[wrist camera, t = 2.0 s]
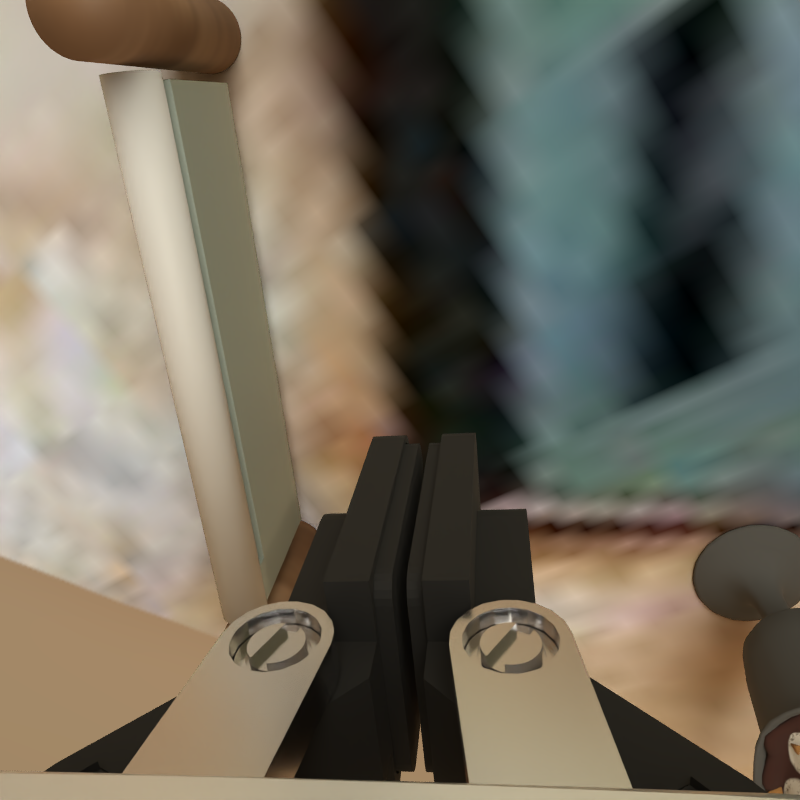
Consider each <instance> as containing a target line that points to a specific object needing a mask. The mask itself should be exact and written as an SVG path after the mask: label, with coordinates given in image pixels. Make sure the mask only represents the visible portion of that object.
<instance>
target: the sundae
mask: <svg viewBox="0 0 800 800" xmlns="http://www.w3.org/2000/svg"><path fill="white" fill-rule="evenodd" d="M693 582H694V586H695V590H696V592H697V595H698V597H699V599H700V600H701V601H702V602H703V603H704V604H705V605H706V606H707V607H708V608H709V609H711V610H712V611H713V612H715V613H717V614H719V615H721V616H723V617H726V618H729V619H733V620H742V621H753V620H760V619H762V620H761V621H760V622H759V623H758V624H757V625H756V626H755V627H754V628H753V629H752V631H751V632H750V633H749V635H748V636H747V637H746V640H745V642H744V647H743V661H744V668H745V675H746V681H747V686H748V690H749V693H750V697H751V701H752V704H753V708H754V711H755V715H756V718H757V722H758V725H759V729H760V732H761V733H760V735H759V738H758V740H757V743H756V746H755V755H754V765H753V782H754V783H756V784H757V785H758V786H759V787H761V788H762V789H763V790H764V791H766V792H767V793H778V794H796V795H800V608H792V609H790V608H791V607H793V606H794V605H796V604H797V603H798V602H799V601H800V538H799V537H798V536H797V535H796V534H793V533H791V532H789V531H787V530H785V529H782V528H779V527H776V526H767V525H750V526H746V527H741V528H738V529H735V530H732V531H729V532H726V533H725V534H723V535H721V536H720V537H718V538H717V539H715V540H714V541H713V542H711V543H710V544H709V545H708V546H707V547H706V548H705V550H704V551H703V552H702V553H701V555H700V557H699V558H698V560H697V562H696V565H695V569H694V576H693Z"/></svg>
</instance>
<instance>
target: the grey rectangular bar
mask: <svg viewBox="0 0 800 800" xmlns="http://www.w3.org/2000/svg"><path fill="white" fill-rule="evenodd" d="M99 77H100V81H101V86H102V90H103V94H104V99H105V103H106V107H107V112H108V116H109V121H110V125H111V129H112V134H113V138H114V142H115V147H116V151H117V155H118V160H119V164H120V168H121V173H122V177H123V181H124V186H125V190H126V195H127V199H128V203H129V208H130V212H131V216H132V221H133V225H134V229H135V234H136V238H137V242H138V247H139V251H140V255H141V260H142V264H143V269H144V273H145V277H146V282H147V286H148V290H149V295H150V299H151V303H152V308H153V312H154V316H155V321H156V325H157V330H158V334H159V338H160V343H161V347H162V351H163V356H164V360H165V364H166V369H167V373H168V377H169V382H170V386H171V390H172V395H173V399H174V404H175V408H176V412H177V417H178V421H179V425H180V430H181V434H182V438H183V443H184V447H185V451H186V456H187V460H188V464H189V469H190V473H191V478H192V482H193V486H194V491H195V495H196V499H197V504H198V508H199V512H200V517H201V521H202V525H203V530H204V534H205V539H206V543H207V547H208V552H209V556H210V560H211V565H212V569H213V573H214V578H215V582H216V586H217V591H218V595H219V599H220V604H221V608H222V613H223V617H224V620H225V621H226V622H228V623H229V624H231V623H232V622H233V621H235V620H236V619H238V618H239V617H241V616H242V615H244V614H245V613H247V612H249V611H251V610H254V609H256V608H259V607H261V606H264V605H268V604H267V599H268V597H269V595H270V592H271V590H272V588H273V585H274V583H275V580H276V578H277V576H278V573H279V571H280V569H281V566H282V564H283V561H284V559H285V557H286V554H287V552H288V550H289V547H290V545H291V542H292V540H293V538H294V535H295V533H296V531H297V528H298V526H299V523H300V521H301V515H300V510H299V504H298V498H297V492H296V486H295V480H294V474H293V468H292V462H291V456H290V451H289V445H288V439H287V433H286V427H285V421H284V415H283V409H282V403H281V397H280V391H279V386H278V380H277V374H276V368H275V362H274V356H273V350H272V344H271V338H270V332H269V327H268V321H267V315H266V309H265V303H264V297H263V291H262V285H261V279H260V273H259V267H258V262H257V256H256V250H255V244H254V238H253V232H252V226H251V220H250V214H249V208H248V203H247V197H246V191H245V185H244V179H243V173H242V167H241V161H240V155H239V149H238V144H237V138H236V132H235V126H234V120H233V114H232V108H231V102H230V96H229V90H228V84H227V83H219V82H205V81H190V80H176V79H167V80H163V78H162V73H161V70H135V71H123V72H114V73H107V74H102V75H99Z"/></svg>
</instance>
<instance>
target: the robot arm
mask: <svg viewBox="0 0 800 800" xmlns="http://www.w3.org/2000/svg"><path fill="white" fill-rule="evenodd" d="M420 724H421V733H422V742H423V751H424V760H425V768H426V771H427V772H433V774H434V782H407V781H400V776H401V771H408V772H412V771H413V772H414V770H415V766H416V758H417V749H418V739H419V731H420ZM0 800H800V795H796V794H778V793H767V792H766V791H764V790H763V789H762V788H761V787H759V786H758V785H757V784H756V783H754V782H753V781H752V780H750V779H749V778H747V777H745V776H744V775H742V774H741V773H739V772H738V771H736V770H734V769H733V768H731V767H730V766H728V765H727V764H725V763H724V762H722V761H720V760H719V759H717V758H716V757H714V756H713V755H711V754H709V753H708V752H706V751H705V750H703V749H702V748H700V747H698V746H697V745H695V744H694V743H692V742H691V741H689V740H687V739H686V738H684V737H683V736H681V735H680V734H678V733H676V732H675V731H673V730H672V729H670V728H669V727H667V726H665V725H664V724H662V723H661V722H659V721H658V720H656V719H655V718H653V717H651V716H650V715H648V714H647V713H645V712H644V711H642V710H640V709H639V708H637V707H636V706H634V705H633V704H631V703H629V702H628V701H626V700H625V699H623V698H622V697H620V696H618V695H617V694H615V693H614V692H612V691H611V690H609V689H607V688H606V687H604V686H603V685H601V684H600V683H598V682H597V681H595V680H593V679H592V678H590V677H589V675H588V672H587V670H586V667H585V665H584V662H583V659H582V657H581V654H580V652H579V649H578V647H577V644H576V641H575V639H574V636H573V634H572V632H571V630H570V628H569V627H568V625H567V624H566V622H565V621H564V620H563V619H562V618H561V617H559V616H558V615H557V614H556V613H554V612H553V611H552V610H550V609H547V608H545V607H543V606H540V605H538V604H536V603H535V593H534V583H533V572H532V562H531V551H530V541H529V531H528V520H527V511H526V509H509V510H481V509H480V493H479V477H478V460H477V444H476V434H475V433H458V434H442V438H441V443H430V444H429V448H428V454H427V460H426V466H425V471H424V474H423V464H422V453H421V446H420V444H409V442H408V438H407V436H381V437H373V439H372V442H371V445H370V448H369V450H368V453H367V456H366V459H365V462H364V465H363V468H362V471H361V474H360V476H359V479H358V482H357V485H356V488H355V491H354V494H353V497H352V500H351V502H350V505H349V508H348V511H347V513H343V514H325V515H324V516H323V517H322V519H321V521H320V524H319V526H318V529H317V531H316V534H315V536H314V538H313V541H312V543H311V546H310V548H309V551H308V553H307V556H306V558H305V561H304V563H303V566H302V568H301V571H300V573H299V576H298V578H297V581H296V583H295V586H294V588H293V591H292V593H291V596H290V598H289V601H288V602H278V603H273V604H268V605H264V606H261V607H259V608H256V609H254V610H251V611H249V612H247V613H245V614H244V615H242V616H241V617H239V618H238V619H236V620H235V621H233V622H232V623H231V625H230V626H229V627H228V628H227V629H226V630H225V631H224V632H223V633H222V634H221V636H220V637H219V639H218V640H217V641H216V643H215V644H214V646H213V647H212V648H211V650H210V651H209V653H208V654H207V655H206V657H205V658H204V660H203V661H202V662H201V664H200V666H198V668H197V669H196V671H195V672H194V673H193V675H192V676H191V678H190V679H189V680H188V682H187V684H186V685H185V686H184V688H183V689H182V690H181V692H180V693H179V694H178V696H177V697H175V698H173V699H171V700H170V701H168V702H166V703H164V704H163V705H161V706H159V707H157V708H155V709H153V710H152V711H150V712H148V713H146V714H145V715H143V716H141V717H139V718H137V719H136V720H134V721H132V722H130V723H128V724H126V725H125V726H123V727H121V728H119V729H117V730H115V731H114V732H112V733H110V734H108V735H106V736H105V737H103V738H101V739H100V740H97V741H96V742H94V743H92V744H91V745H88V746H87V747H85V748H83V749H81V750H79V751H77V752H76V753H74V754H72V755H70V756H68V757H67V758H65V759H63V760H61V761H60V762H58V763H56V764H54V765H53V766H52V767H50V768H49V769H47V770H46V771H44V772H34V771H0Z"/></svg>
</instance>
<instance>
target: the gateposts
mask: <svg viewBox="0 0 800 800" xmlns="http://www.w3.org/2000/svg"><path fill="white" fill-rule="evenodd" d="M26 6H27V11H28V14H29V17H30V20H31V22H32V25H33V27H34V28H35V30H36V32H37V33H38V35H39V36H40V38H41V39H42V40H43V41H44V42H45V44H46V45H48V46H49V47H50V48H51V49H52V50H53V51H55V52H56V53H58V54H60V55H61V56H63V57H66V58H68V59H71V60H75V61H84V62H95V63H105V64H115V65H125V66H135V67H145V68H156V69H166V70H176V71H186V72H196V73H207V74H215V73H219V72H222V71H224V70H226V69H227V68H228V67H230V66H231V65H232V64H233V62H234V61H235V59H236V58H237V56H238V53H239V50H240V45H241V33H240V28H239V25H238V22H237V20H236V18H235V16H234V14H233V13H232V12H231V10H230V9H229V8H228V7H227V6H226V5H225V4H223V3H222V2H220V1H218V0H26ZM315 534H316V529H315V528H314V527H312V526H311V525H310V524H308V523H306V522H303V521H300V523H299V526H298V528H297V531H296V533H295V535H294V538H293V540H292V542H291V545H290V547H289V550H288V552H287V554H286V557H285V559H284V561H283V564H282V566H281V569H280V571H279V573H278V576H277V578H276V580H275V583H274V585H273V588H272V590H271V592H270V595H269V597H268V599H267V604H273V603H278V602H288V601H289V598H290V596H291V593H292V591H293V588H294V586H295V583H296V581H297V578H298V576H299V573H300V571H301V568H302V566H303V563H304V561H305V558H306V556H307V553H308V551H309V548H310V546H311V543H312V541H313V538H314V536H315ZM230 625H231V624H229V623H228V624H227V626H226V628H225V630H226V629H227V628H228V627H229V626H230ZM225 630H224V631H225Z"/></svg>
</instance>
